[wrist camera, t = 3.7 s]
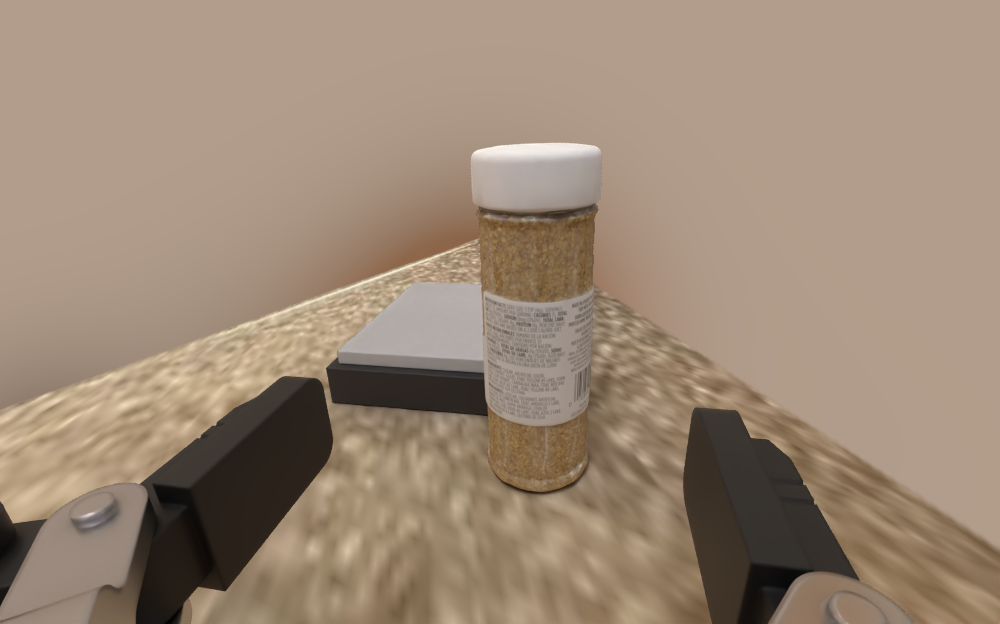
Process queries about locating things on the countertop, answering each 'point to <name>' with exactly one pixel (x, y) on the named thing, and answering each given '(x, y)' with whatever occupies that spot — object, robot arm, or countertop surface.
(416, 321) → the kitchen scale
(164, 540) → the robot arm
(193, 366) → the countertop surface
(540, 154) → the sprinkles bottle
